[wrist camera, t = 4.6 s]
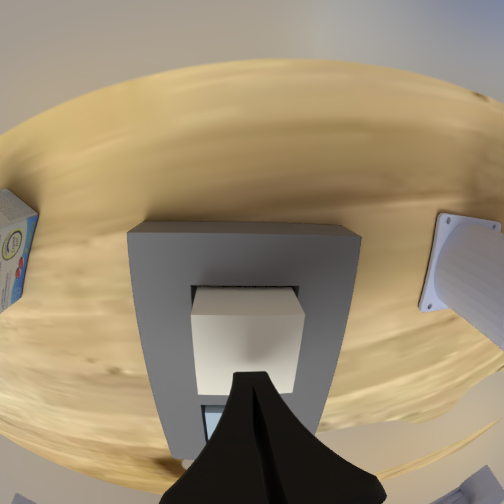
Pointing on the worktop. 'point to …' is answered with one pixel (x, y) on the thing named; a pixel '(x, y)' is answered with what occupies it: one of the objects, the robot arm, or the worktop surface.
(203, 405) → the grey flat rectangular block
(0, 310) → the medicine box
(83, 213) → the worktop surface
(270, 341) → the cream key
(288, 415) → the robot arm
